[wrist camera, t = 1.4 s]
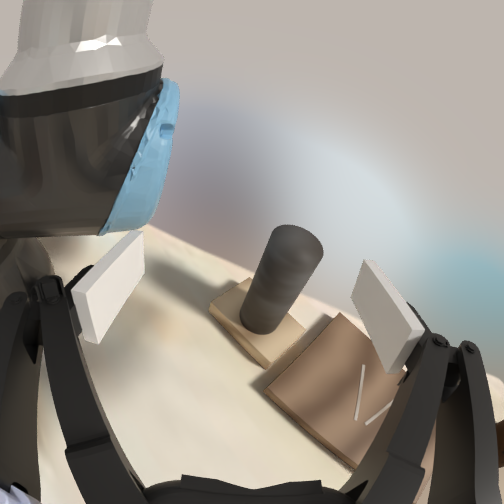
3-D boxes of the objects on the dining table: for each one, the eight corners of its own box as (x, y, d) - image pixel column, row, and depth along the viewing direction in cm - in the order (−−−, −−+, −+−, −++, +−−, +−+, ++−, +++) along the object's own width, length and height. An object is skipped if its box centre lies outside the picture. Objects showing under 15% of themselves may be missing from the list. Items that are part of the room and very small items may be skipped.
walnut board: (262, 391, 25) (267, 386, 24) (334, 318, 34) (339, 311, 32) (407, 504, 16) (416, 503, 15) (446, 420, 25) (454, 416, 24)
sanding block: (208, 311, 30) (231, 221, 21) (245, 287, 34) (279, 201, 25) (265, 369, 27) (322, 301, 18) (299, 337, 30) (357, 264, 21)
